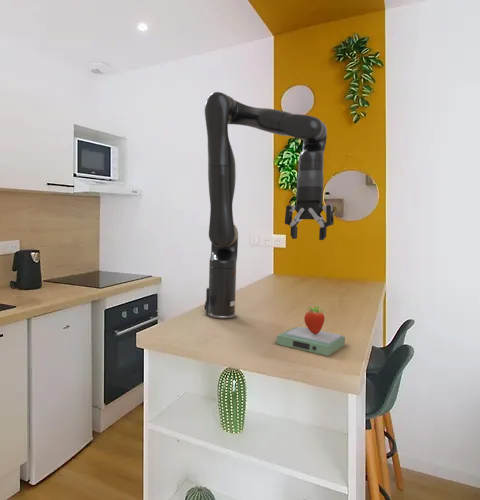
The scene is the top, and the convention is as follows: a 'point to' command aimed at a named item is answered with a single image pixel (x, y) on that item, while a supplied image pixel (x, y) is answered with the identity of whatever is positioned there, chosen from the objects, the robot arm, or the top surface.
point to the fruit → (314, 320)
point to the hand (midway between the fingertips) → (307, 239)
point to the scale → (311, 340)
